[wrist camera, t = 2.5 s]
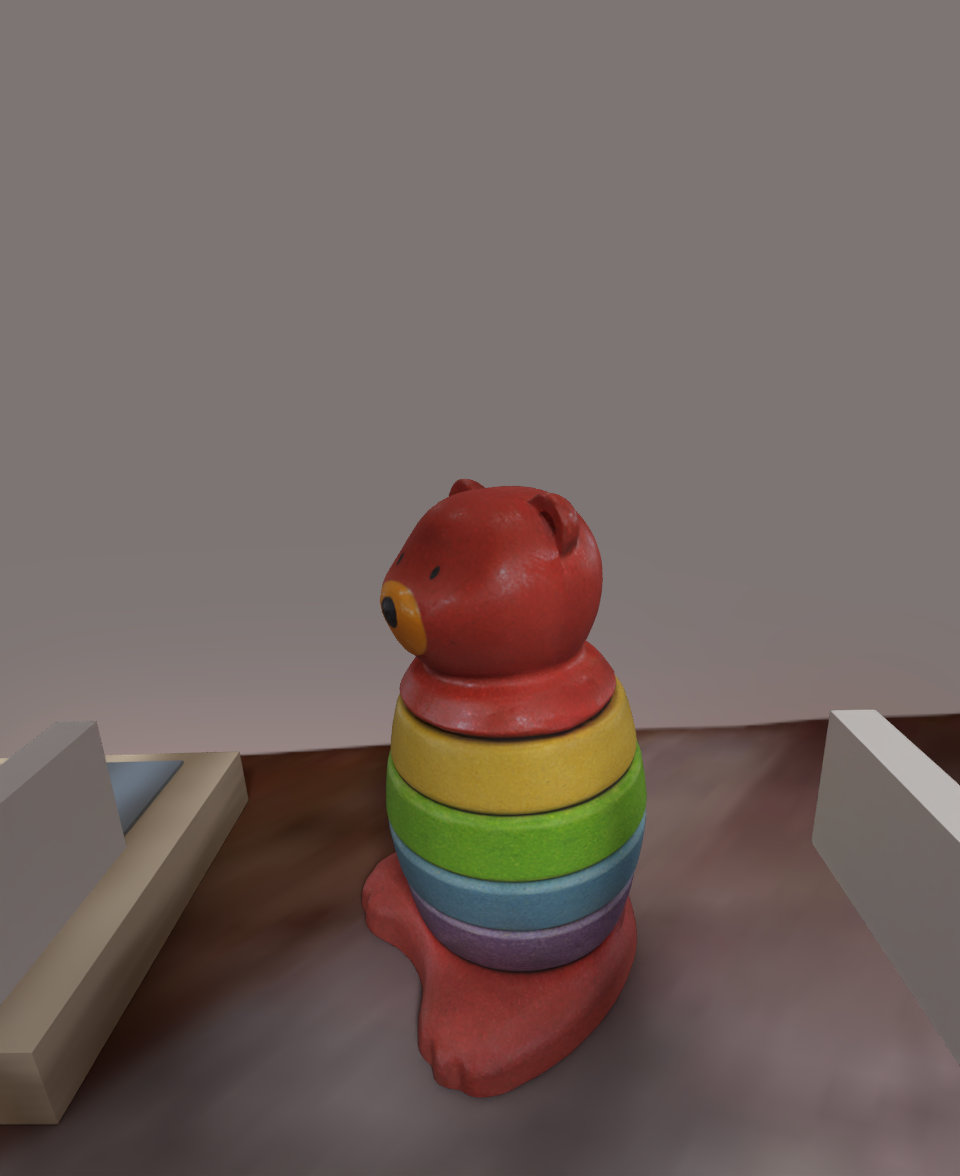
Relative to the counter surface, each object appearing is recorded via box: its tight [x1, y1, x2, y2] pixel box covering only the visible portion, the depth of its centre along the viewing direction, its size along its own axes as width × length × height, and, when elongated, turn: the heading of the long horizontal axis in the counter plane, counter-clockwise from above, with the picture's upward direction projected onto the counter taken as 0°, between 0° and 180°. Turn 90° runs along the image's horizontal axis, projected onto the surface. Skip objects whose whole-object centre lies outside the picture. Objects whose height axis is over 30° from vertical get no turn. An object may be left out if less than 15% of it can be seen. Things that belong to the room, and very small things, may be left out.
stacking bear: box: [362, 479, 647, 1097], centre depth 23 cm, size 11×10×18 cm
